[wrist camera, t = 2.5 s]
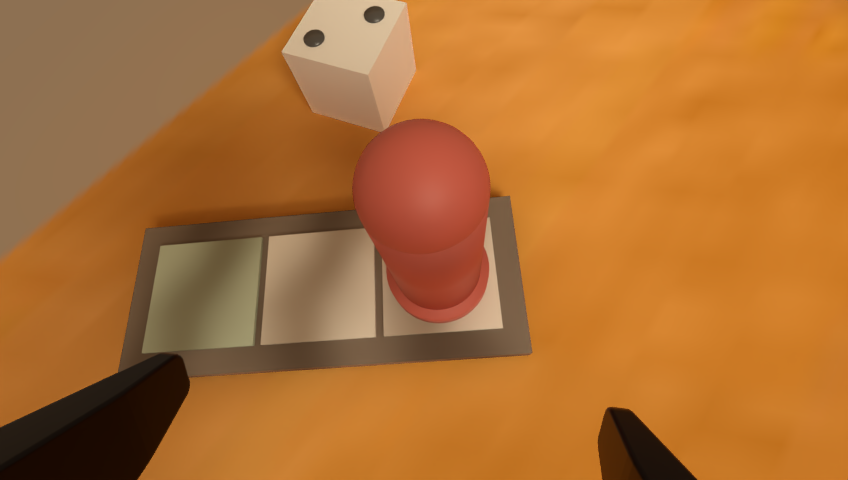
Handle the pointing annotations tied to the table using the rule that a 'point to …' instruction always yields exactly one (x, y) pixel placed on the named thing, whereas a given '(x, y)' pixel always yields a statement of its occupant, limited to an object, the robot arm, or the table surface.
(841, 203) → the table surface
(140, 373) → the robot arm
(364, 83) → the die
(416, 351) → the board
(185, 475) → the table surface
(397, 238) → the pawn
